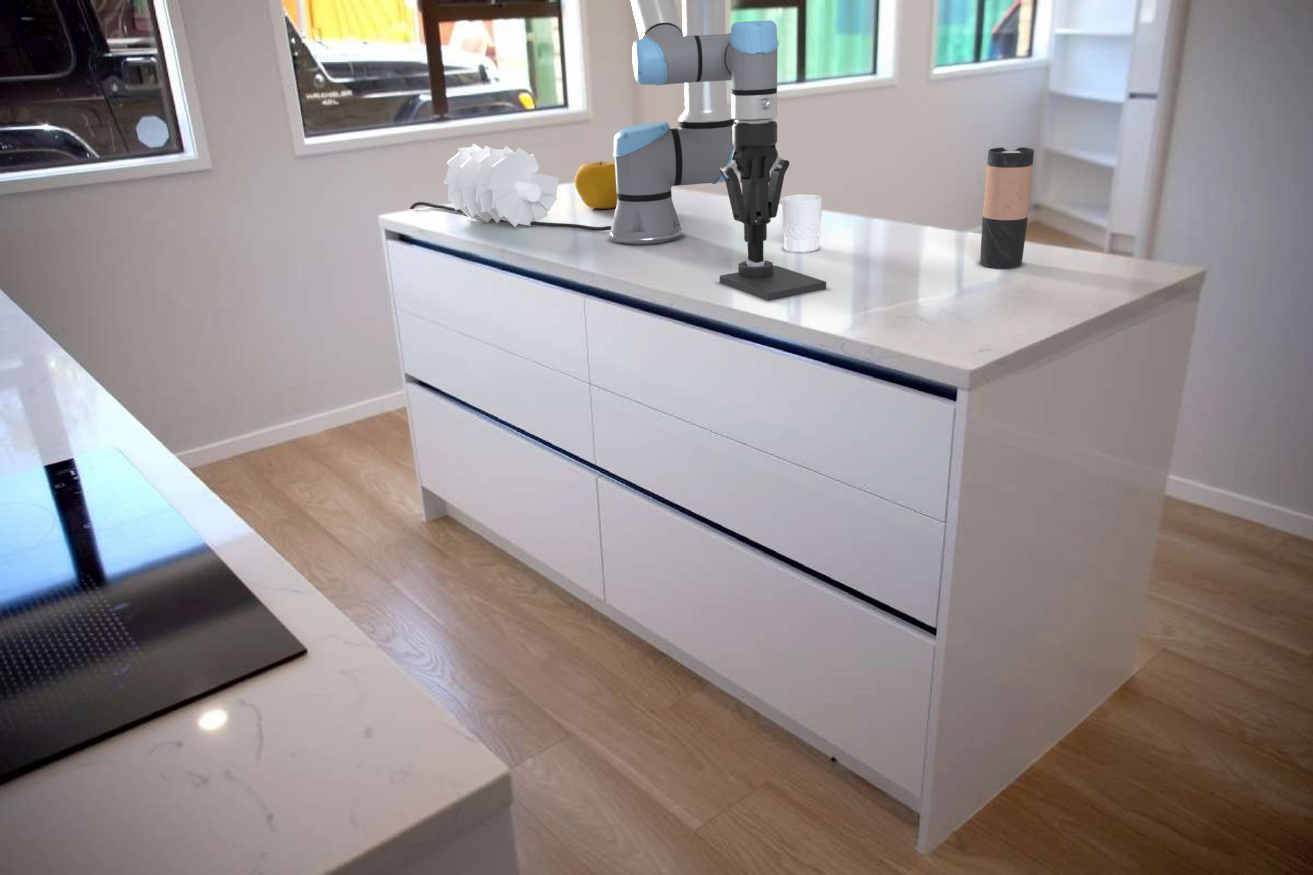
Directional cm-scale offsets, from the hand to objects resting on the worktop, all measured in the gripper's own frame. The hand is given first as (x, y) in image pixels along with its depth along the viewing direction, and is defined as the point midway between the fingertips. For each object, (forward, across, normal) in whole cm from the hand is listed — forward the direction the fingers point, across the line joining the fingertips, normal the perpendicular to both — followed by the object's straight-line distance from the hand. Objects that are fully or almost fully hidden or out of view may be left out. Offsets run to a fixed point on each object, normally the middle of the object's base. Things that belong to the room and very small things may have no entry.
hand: (755, 260), depth 176 cm
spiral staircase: (+4, -16, +83) cm, 85 cm away
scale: (+4, 0, -5) cm, 6 cm away
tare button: (+2, 0, 0) cm, 2 cm away
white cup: (+4, +21, +15) cm, 26 cm away
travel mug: (+4, +41, -18) cm, 45 cm away
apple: (+4, +10, +83) cm, 84 cm away
